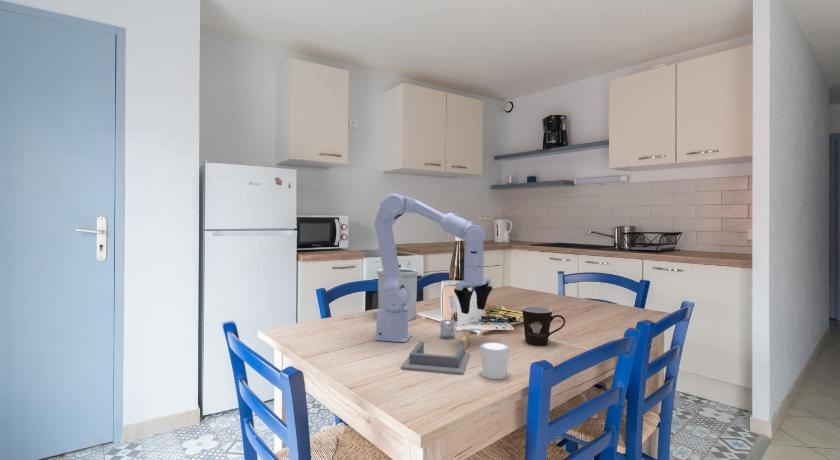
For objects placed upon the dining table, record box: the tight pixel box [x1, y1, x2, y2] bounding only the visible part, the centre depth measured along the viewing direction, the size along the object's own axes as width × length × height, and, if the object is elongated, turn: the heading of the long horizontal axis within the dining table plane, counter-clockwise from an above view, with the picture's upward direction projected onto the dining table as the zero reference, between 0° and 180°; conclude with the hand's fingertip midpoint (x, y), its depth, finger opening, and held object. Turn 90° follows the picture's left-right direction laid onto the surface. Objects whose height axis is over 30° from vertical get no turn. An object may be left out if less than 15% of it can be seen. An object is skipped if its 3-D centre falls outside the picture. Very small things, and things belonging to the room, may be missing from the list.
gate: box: [459, 329, 470, 354], centre depth 124 cm, size 12×1×4 cm, turn 167°
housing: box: [400, 340, 471, 375], centre depth 113 cm, size 15×14×3 cm
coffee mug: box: [521, 305, 566, 347], centre depth 129 cm, size 12×9×10 cm
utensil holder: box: [376, 267, 419, 321], centre depth 160 cm, size 15×15×18 cm
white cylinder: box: [480, 341, 510, 380], centre depth 104 cm, size 7×7×7 cm
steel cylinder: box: [439, 319, 456, 340], centre depth 135 cm, size 4×4×5 cm
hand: (473, 311), depth 130 cm, fingers open, 7 cm apart
